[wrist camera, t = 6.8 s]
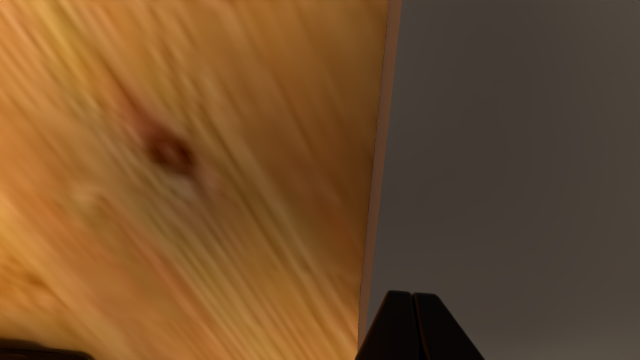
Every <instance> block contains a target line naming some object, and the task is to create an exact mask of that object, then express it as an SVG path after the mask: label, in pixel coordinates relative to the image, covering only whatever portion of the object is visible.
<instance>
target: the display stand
mask: <svg viewBox="0 0 640 360" xmlns="http://www.w3.org/2000/svg"><path fill="white" fill-rule="evenodd" d="M389 290H398V291H408V292H410V293H411V294H413V293H415V292H422V293H433V294H436V295H437V296H439V298H440V299H441V300H442V302H443V303H444V304H445V306H446V307H447V308H448V310H449V311H450V313H451V314H452V315H453V317H454V318H455V319H456V321H457V322H458V323H459V325H460V326H461V327H462V329H463V330H464V332H465V333H466V334H467V336H468V337H469V338H470V340H471V341H472V342H473V344H474V345H475V346H476V348H477V349H478V350H479V352H480V353H481V355H482V356H483V357H484V359H485V360H640V0H389V7H388V17H387V27H386V37H385V47H384V58H383V68H382V78H381V88H380V98H379V109H378V119H377V129H376V139H375V149H374V160H373V170H372V180H371V190H370V201H369V211H368V221H367V231H366V241H365V252H364V262H363V272H362V282H361V292H360V303H359V323H358V351H359V349H360V347H361V345H362V343H363V341H364V339H365V336H366V334H367V332H368V330H369V328H370V326H371V324H372V322H373V320H374V317H375V315H376V313H377V311H378V309H379V307H380V305H381V303H382V301H383V299H384V296H385V294H386V293H387V291H389Z"/></svg>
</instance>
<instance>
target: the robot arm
mask: <svg viewBox="0 0 640 360" xmlns="http://www.w3.org/2000/svg"><path fill="white" fill-rule="evenodd" d="M0 360H88V359H86V358H84V357H82V356H78V355H68V354H57V353H47V352H36V351H25V350H15V349H4V348H0ZM355 360H485V359H484V357H483V356H482V355H481V353H480V352H479V350H478V349H477V348H476V346H475V345H474V344H473V342H472V341H471V340H470V338H469V337H468V336H467V334H466V333H465V332H464V330H463V329H462V327H461V326H460V325H459V323H458V322H457V321H456V319H455V318H454V317H453V315H452V314H451V313H450V311H449V310H448V308H447V307H446V306H445V304H444V303H443V302H442V300H441V299H440V298H439V296H437V295H436V294H433V293H422V292H415V293H413V294H411V293H410V292H408V291H398V290H389V291H387V293H386V294H385V296H384V299H383V301H382V303H381V305H380V307H379V309H378V311H377V313H376V315H375V317H374V320H373V322H372V324H371V326H370V328H369V330H368V332H367V334H366V336H365V339H364V341H363V343H362V345H361V347H360V349H359V351H358V353H357V355H356V357H355Z"/></svg>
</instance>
